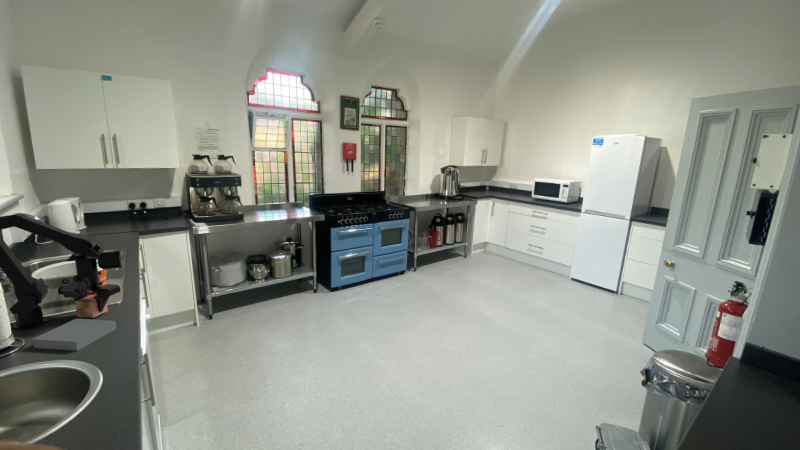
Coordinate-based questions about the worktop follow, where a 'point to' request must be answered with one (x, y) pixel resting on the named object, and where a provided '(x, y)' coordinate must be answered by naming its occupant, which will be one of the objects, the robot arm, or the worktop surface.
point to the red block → (88, 307)
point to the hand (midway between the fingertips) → (92, 311)
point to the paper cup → (100, 279)
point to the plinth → (74, 334)
